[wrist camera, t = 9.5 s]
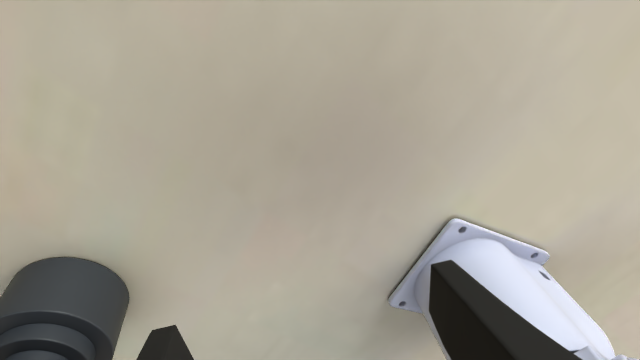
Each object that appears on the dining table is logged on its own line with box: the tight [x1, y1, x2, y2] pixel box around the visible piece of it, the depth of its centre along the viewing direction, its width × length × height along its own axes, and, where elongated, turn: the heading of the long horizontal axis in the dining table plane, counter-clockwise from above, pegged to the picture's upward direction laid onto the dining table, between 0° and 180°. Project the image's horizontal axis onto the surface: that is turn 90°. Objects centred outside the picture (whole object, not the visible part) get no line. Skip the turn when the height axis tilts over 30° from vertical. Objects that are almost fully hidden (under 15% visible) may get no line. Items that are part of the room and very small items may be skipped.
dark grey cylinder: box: [0, 257, 129, 360], centre depth 19 cm, size 6×6×6 cm
